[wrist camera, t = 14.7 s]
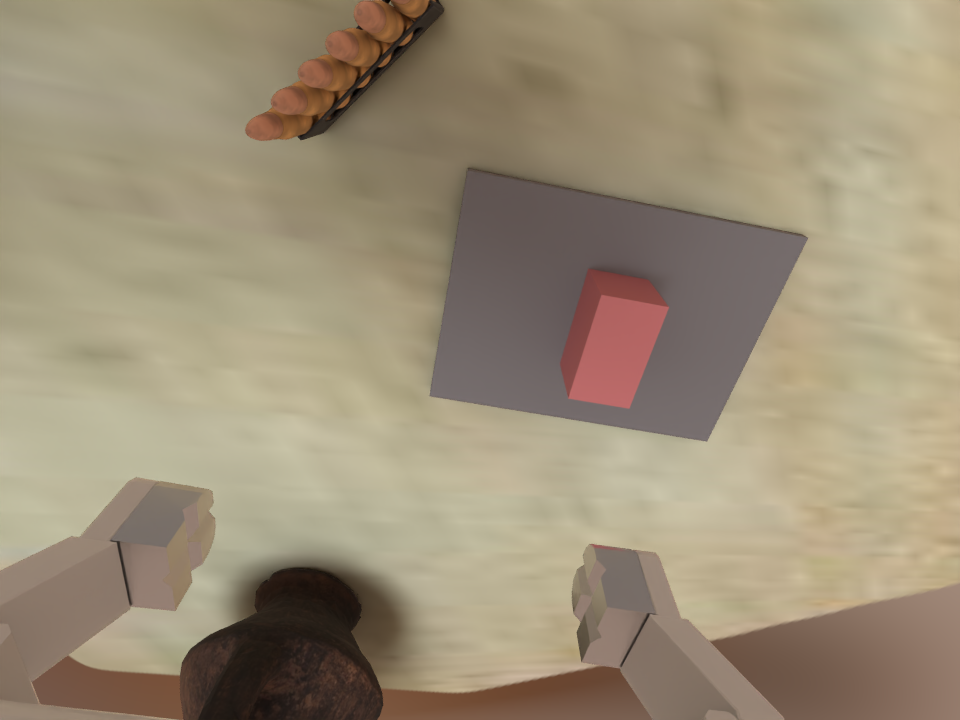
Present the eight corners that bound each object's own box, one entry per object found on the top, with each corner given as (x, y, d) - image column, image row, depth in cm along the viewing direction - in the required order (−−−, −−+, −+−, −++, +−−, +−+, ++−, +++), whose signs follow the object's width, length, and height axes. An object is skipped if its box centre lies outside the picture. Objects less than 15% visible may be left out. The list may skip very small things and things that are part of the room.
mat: (430, 390, 44) (429, 396, 43) (467, 168, 36) (467, 170, 35) (703, 435, 46) (706, 441, 45) (802, 234, 37) (808, 237, 37)
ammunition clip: (424, -20, 31) (391, -64, 20) (445, 10, 31) (424, -18, 21) (301, 109, 34) (217, 129, 24) (322, 134, 35) (250, 163, 24)
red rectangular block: (588, 268, 38) (601, 294, 34) (648, 279, 38) (669, 307, 34) (559, 363, 42) (568, 398, 37) (614, 373, 42) (629, 408, 38)
